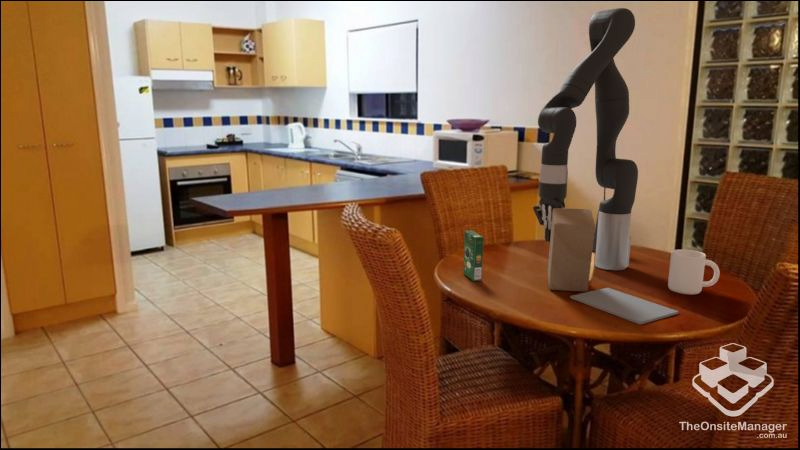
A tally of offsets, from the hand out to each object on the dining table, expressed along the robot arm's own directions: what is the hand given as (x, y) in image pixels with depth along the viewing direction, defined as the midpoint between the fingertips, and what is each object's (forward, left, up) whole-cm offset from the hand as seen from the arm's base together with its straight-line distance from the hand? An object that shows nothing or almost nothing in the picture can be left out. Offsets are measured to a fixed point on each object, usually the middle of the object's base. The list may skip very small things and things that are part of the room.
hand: (549, 241), depth 162 cm
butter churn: (-38, -14, -11) cm, 42 cm away
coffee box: (+18, -12, -11) cm, 24 cm away
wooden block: (0, +7, -10) cm, 12 cm away
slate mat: (0, +26, -11) cm, 28 cm away
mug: (-26, +27, -11) cm, 39 cm away
